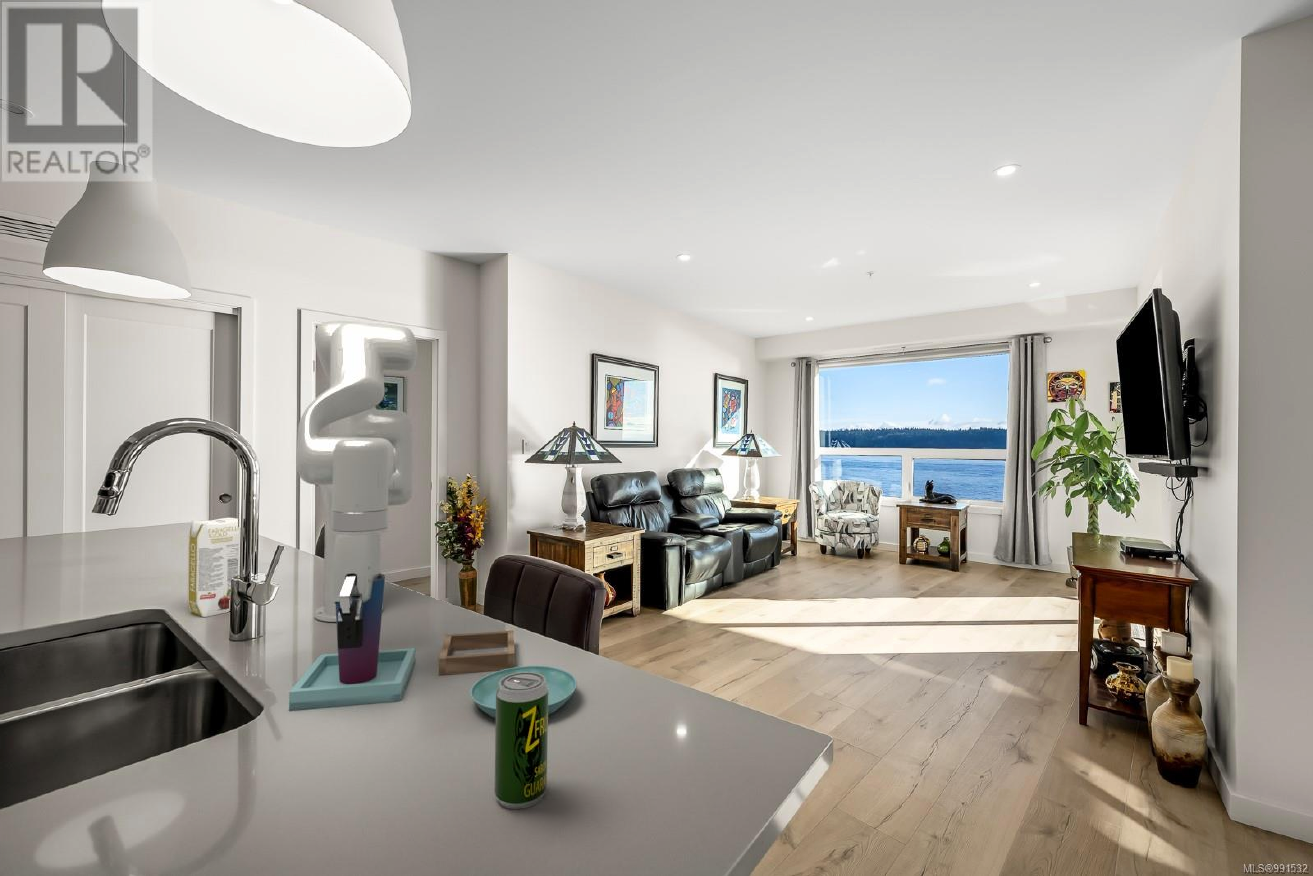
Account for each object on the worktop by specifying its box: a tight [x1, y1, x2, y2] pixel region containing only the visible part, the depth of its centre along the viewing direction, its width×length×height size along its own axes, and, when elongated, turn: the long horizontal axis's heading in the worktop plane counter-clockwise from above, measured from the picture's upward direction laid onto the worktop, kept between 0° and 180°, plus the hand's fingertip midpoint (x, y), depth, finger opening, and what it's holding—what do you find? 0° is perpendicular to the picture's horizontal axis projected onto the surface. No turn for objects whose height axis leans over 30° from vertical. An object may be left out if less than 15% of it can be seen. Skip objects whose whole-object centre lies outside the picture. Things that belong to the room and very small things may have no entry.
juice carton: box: [187, 517, 239, 618], centre depth 123 cm, size 8×9×19 cm
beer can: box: [494, 672, 549, 810], centre depth 62 cm, size 5×5×12 cm
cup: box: [335, 572, 386, 684], centre depth 89 cm, size 7×7×15 cm
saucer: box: [469, 665, 578, 719], centre depth 84 cm, size 15×15×3 cm
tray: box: [288, 647, 416, 712], centre depth 89 cm, size 14×14×2 cm
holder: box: [438, 630, 515, 676], centre depth 100 cm, size 12×12×2 cm
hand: (358, 636), depth 89 cm, fingers open, 9 cm apart
